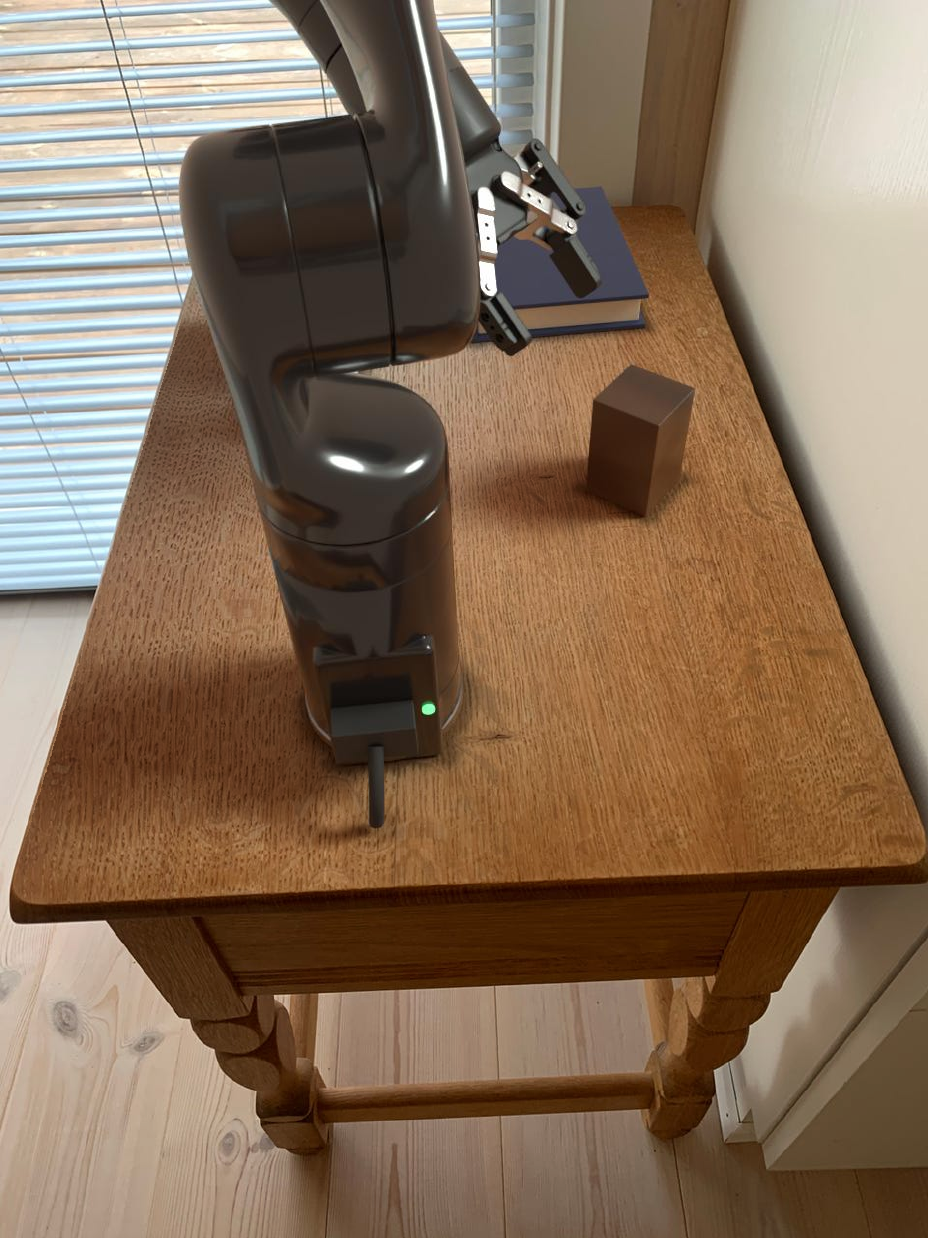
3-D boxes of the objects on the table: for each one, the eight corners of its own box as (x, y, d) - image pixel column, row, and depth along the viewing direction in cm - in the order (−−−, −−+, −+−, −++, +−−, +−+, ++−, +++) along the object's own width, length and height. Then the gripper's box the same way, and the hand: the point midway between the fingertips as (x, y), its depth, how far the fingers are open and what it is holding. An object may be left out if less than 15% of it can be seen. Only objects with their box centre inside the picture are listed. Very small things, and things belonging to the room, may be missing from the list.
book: (645, 327, 85) (649, 294, 83) (470, 342, 84) (469, 309, 82) (599, 217, 98) (601, 185, 96) (448, 230, 98) (446, 198, 95)
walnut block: (645, 517, 69) (658, 425, 63) (585, 490, 71) (592, 399, 65) (679, 479, 72) (696, 387, 66) (620, 454, 74) (631, 363, 68)
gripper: (368, 107, 56) (532, 348, 60) (512, 30, 63) (650, 249, 67) (313, 177, 62) (464, 391, 66) (450, 99, 69) (579, 296, 73)
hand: (557, 319), depth 66 cm, fingers open, 8 cm apart
